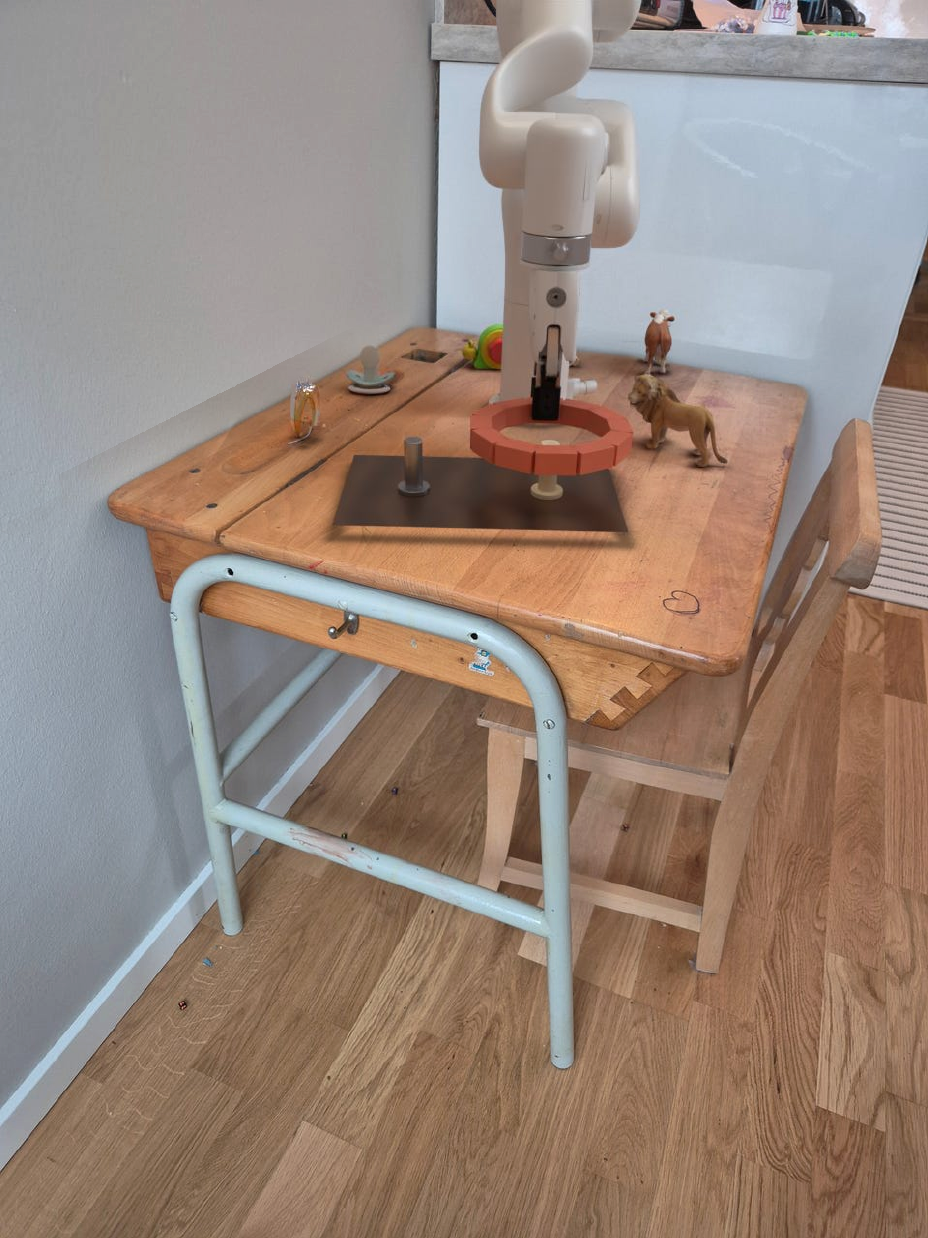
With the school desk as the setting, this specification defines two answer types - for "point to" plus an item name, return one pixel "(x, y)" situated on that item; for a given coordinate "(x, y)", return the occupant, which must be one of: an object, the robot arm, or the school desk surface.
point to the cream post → (547, 483)
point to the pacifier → (369, 374)
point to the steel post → (413, 469)
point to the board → (474, 497)
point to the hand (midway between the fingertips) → (543, 413)
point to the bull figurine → (658, 339)
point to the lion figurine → (673, 416)
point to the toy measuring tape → (489, 349)
